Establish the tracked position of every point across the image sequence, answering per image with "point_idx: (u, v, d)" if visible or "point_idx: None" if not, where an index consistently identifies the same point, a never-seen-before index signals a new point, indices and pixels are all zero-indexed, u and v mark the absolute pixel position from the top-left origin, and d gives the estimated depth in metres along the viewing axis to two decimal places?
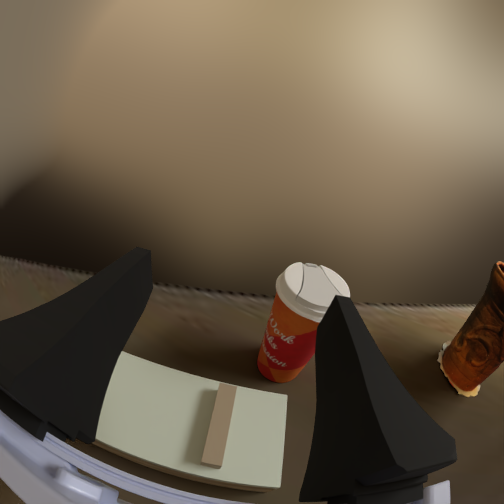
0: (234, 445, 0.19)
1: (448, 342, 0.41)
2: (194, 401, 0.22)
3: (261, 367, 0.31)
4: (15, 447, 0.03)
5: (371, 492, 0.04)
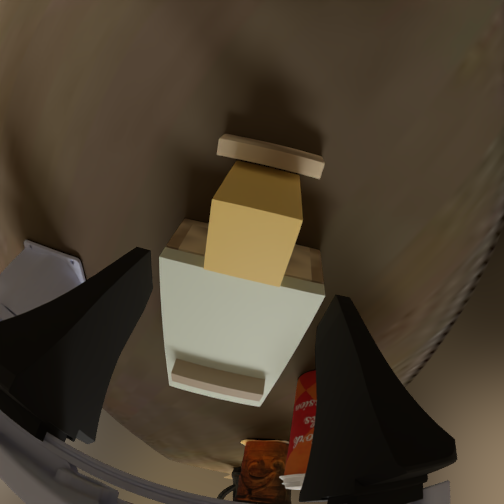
0: None
1: None
2: (248, 365, 0.21)
3: (314, 377, 0.28)
4: (15, 447, 0.03)
5: (371, 492, 0.04)
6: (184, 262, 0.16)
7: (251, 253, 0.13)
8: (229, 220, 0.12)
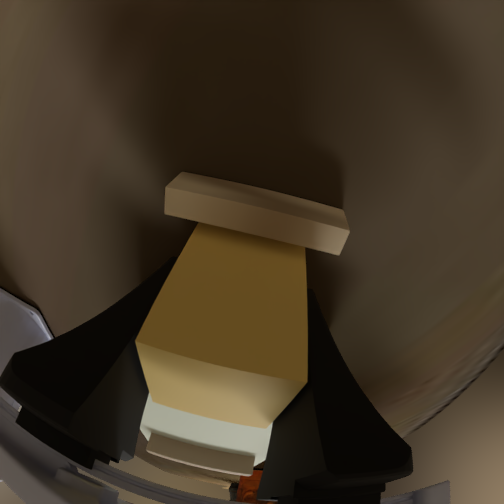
0: None
1: None
2: (233, 448, 0.15)
3: None
4: (15, 447, 0.03)
5: (314, 497, 0.04)
6: None
7: (218, 403, 0.07)
8: (172, 369, 0.06)
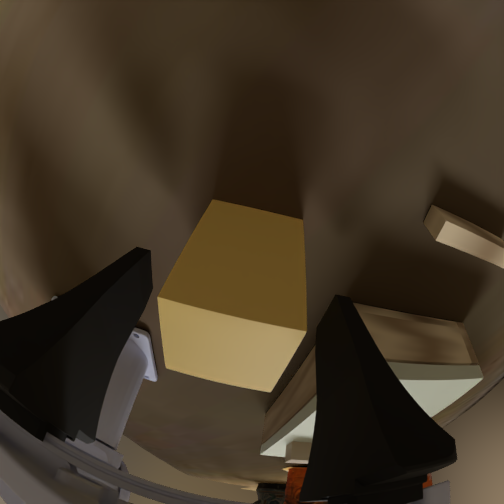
0: None
1: None
2: None
3: None
4: (15, 447, 0.03)
5: (371, 492, 0.04)
6: None
7: (227, 362, 0.08)
8: (188, 324, 0.07)
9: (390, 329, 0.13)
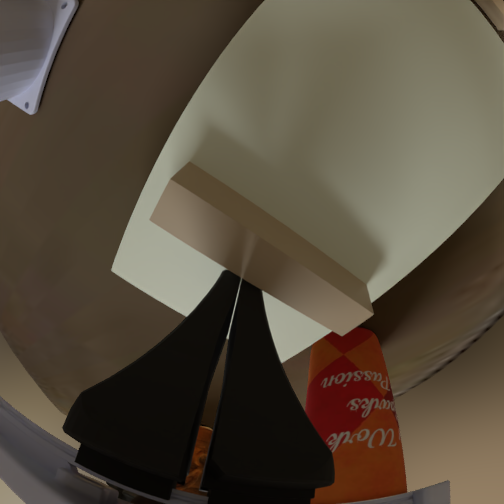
0: None
1: None
2: (370, 227, 0.09)
3: (354, 336, 0.18)
4: (15, 447, 0.03)
5: (226, 490, 0.04)
6: None
7: None
8: None
9: None
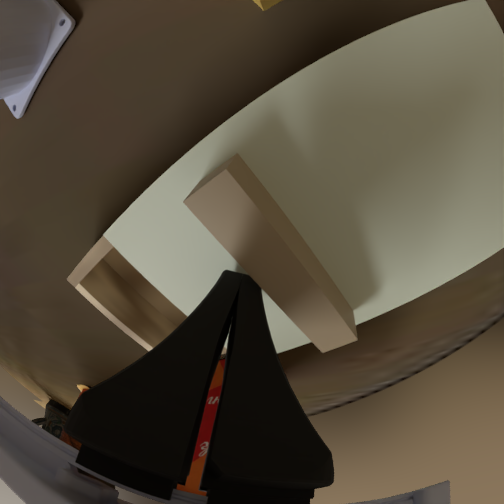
0: None
1: None
2: (376, 263, 0.10)
3: None
4: (15, 447, 0.03)
5: (225, 490, 0.04)
6: (503, 36, 0.03)
7: None
8: None
9: None
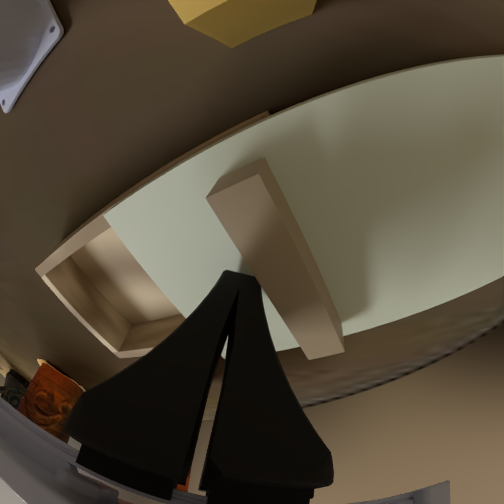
0: (235, 248, 0.10)
1: None
2: (372, 282, 0.10)
3: None
4: (15, 447, 0.03)
5: (225, 490, 0.04)
6: None
7: None
8: None
9: None
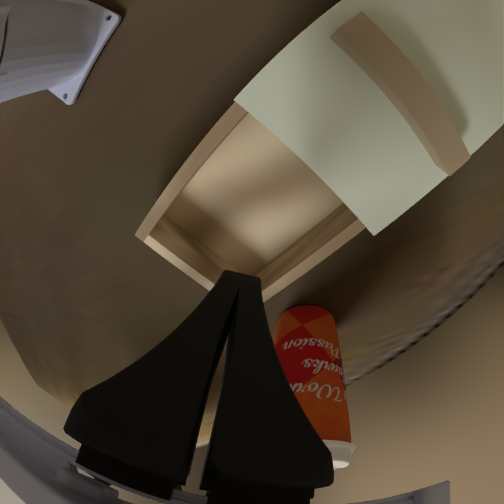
0: (358, 90, 0.10)
1: None
2: (458, 99, 0.09)
3: (313, 312, 0.23)
4: (15, 447, 0.03)
5: (225, 490, 0.04)
6: None
7: None
8: None
9: None
